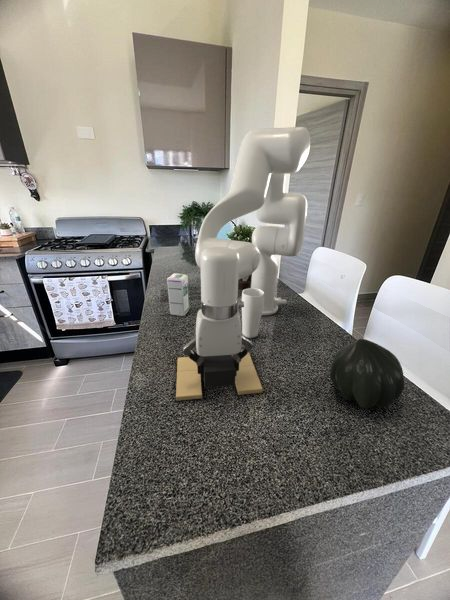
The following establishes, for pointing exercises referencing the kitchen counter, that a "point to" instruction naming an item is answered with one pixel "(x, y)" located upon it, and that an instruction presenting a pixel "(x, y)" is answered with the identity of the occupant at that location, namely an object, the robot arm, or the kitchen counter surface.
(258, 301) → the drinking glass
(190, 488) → the kitchen counter surface
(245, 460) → the kitchen counter surface
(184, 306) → the syrup box
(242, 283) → the coffee mug
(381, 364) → the squash
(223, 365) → the black block
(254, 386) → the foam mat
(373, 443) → the kitchen counter surface
